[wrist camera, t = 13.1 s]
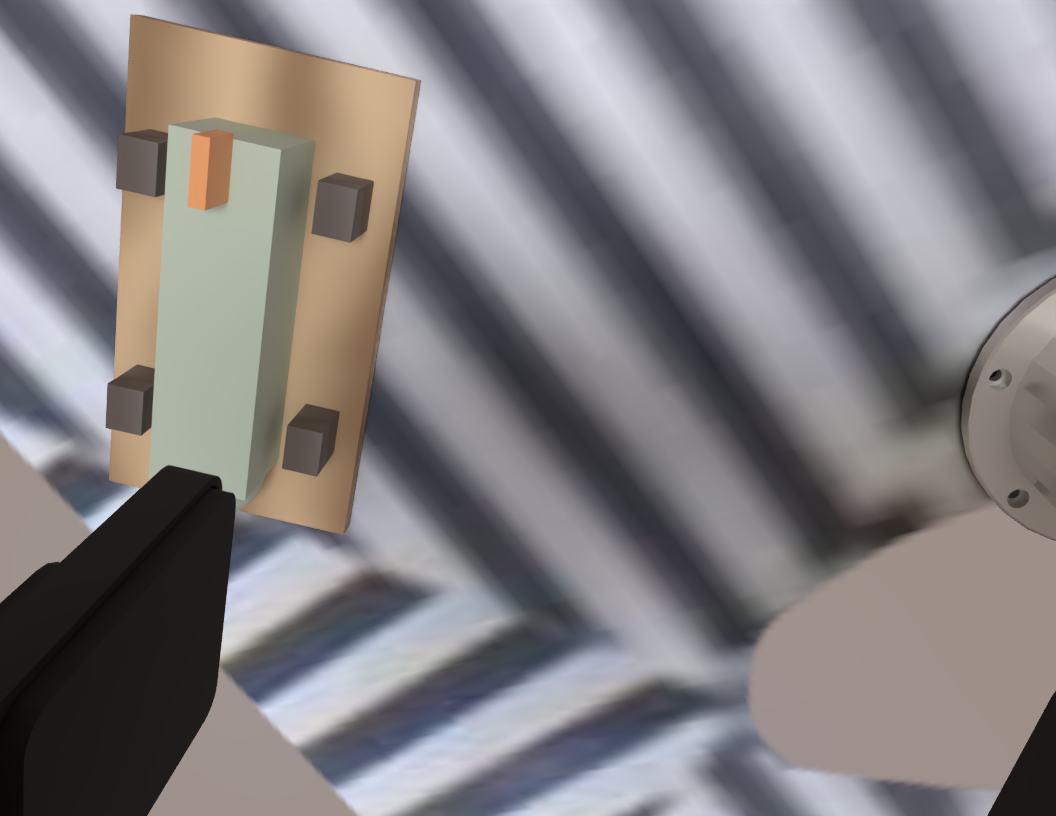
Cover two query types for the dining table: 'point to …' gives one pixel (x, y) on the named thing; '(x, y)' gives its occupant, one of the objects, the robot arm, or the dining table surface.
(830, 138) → the dining table surface
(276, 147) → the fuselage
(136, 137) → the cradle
